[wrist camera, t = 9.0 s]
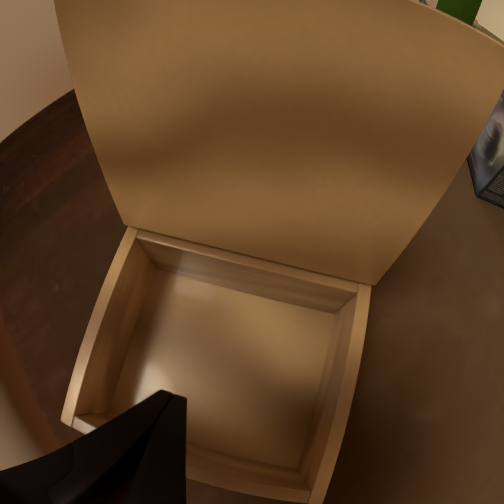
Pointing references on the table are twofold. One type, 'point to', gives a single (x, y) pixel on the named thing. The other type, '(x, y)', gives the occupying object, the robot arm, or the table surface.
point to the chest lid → (281, 120)
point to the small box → (490, 158)
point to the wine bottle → (457, 8)
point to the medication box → (476, 25)
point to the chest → (227, 360)
